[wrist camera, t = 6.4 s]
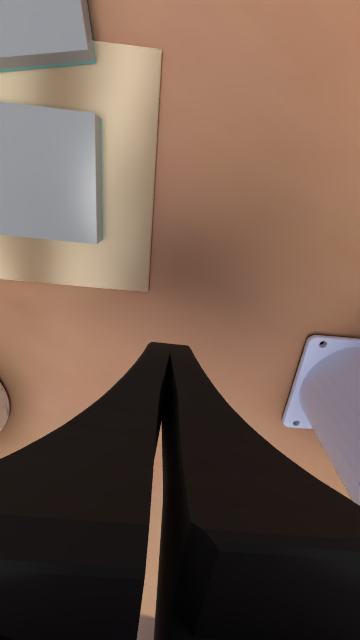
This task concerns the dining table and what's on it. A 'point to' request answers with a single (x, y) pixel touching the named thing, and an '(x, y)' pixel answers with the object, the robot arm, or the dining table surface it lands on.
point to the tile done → (44, 34)
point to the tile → (50, 173)
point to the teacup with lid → (3, 407)
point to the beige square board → (117, 167)
